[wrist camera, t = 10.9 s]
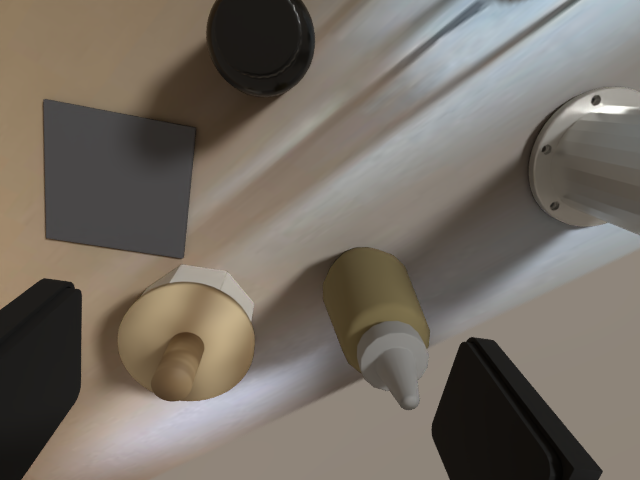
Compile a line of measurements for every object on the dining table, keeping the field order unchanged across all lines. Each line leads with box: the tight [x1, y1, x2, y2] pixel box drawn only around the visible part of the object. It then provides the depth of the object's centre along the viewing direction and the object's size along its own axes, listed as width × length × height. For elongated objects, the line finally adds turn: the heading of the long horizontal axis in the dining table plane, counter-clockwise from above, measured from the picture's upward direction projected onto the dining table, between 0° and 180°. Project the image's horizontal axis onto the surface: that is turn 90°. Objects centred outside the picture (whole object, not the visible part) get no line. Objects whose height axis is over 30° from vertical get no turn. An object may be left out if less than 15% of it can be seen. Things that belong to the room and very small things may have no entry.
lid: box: [117, 282, 255, 401], centre depth 34 cm, size 12×12×6 cm
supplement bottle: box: [206, 0, 315, 97], centre depth 28 cm, size 7×7×12 cm
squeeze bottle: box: [323, 247, 430, 410], centre depth 32 cm, size 8×8×18 cm
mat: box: [44, 99, 196, 258], centre depth 36 cm, size 12×12×1 cm
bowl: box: [141, 264, 254, 321], centre depth 39 cm, size 10×10×4 cm
